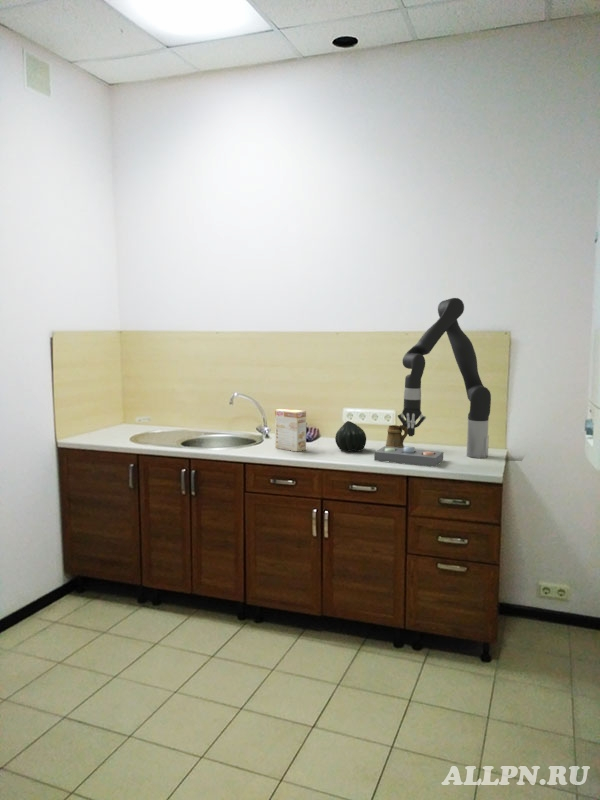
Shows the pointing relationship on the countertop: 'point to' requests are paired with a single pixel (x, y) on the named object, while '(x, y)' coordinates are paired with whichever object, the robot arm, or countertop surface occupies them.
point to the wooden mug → (396, 436)
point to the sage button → (390, 449)
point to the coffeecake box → (290, 429)
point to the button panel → (409, 456)
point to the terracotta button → (428, 453)
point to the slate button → (409, 449)
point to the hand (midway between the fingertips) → (411, 436)
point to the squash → (350, 437)
